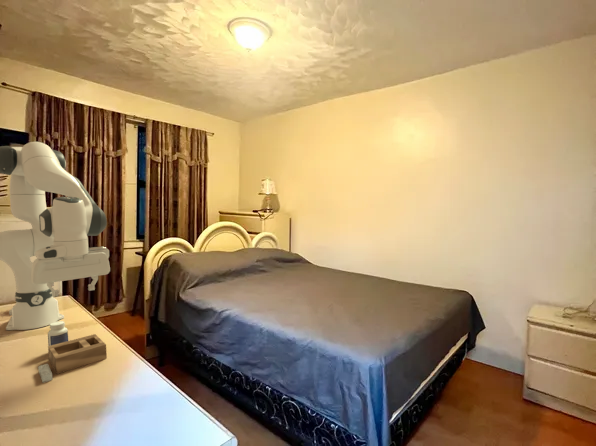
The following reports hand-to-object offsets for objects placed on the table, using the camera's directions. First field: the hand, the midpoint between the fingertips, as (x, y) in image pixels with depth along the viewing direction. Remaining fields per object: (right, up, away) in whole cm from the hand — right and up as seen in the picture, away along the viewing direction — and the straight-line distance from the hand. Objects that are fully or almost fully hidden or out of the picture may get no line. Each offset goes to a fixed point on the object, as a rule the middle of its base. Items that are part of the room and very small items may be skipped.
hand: (74, 293), depth 103 cm
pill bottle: (-10, -21, +7) cm, 24 cm away
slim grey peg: (-2, -22, -8) cm, 24 cm away
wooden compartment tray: (0, -21, +1) cm, 21 cm away
